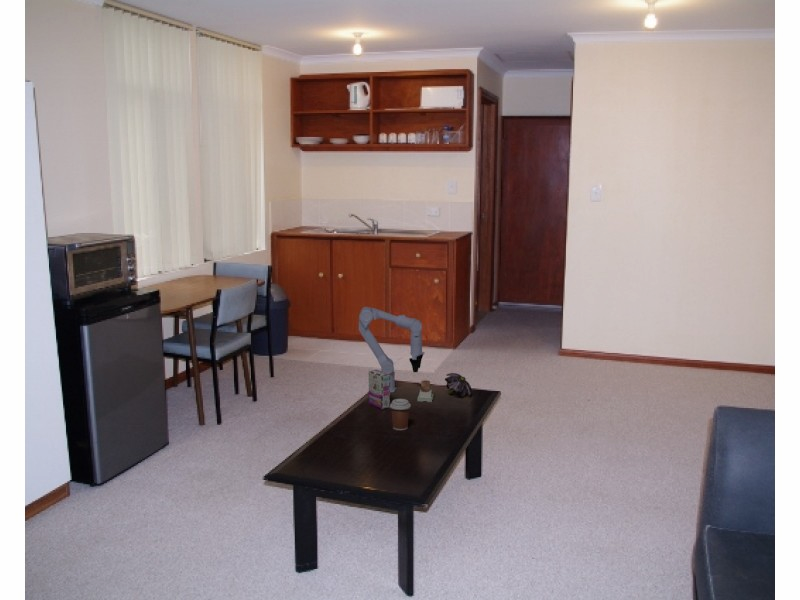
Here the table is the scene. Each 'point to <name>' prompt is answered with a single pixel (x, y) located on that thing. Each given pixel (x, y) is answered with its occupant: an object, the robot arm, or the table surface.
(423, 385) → the terracotta cylinder
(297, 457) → the table surface
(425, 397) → the sage base block
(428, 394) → the off-white top block
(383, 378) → the candy bar box
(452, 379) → the decorative flower
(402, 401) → the coffee cup
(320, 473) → the table surface
